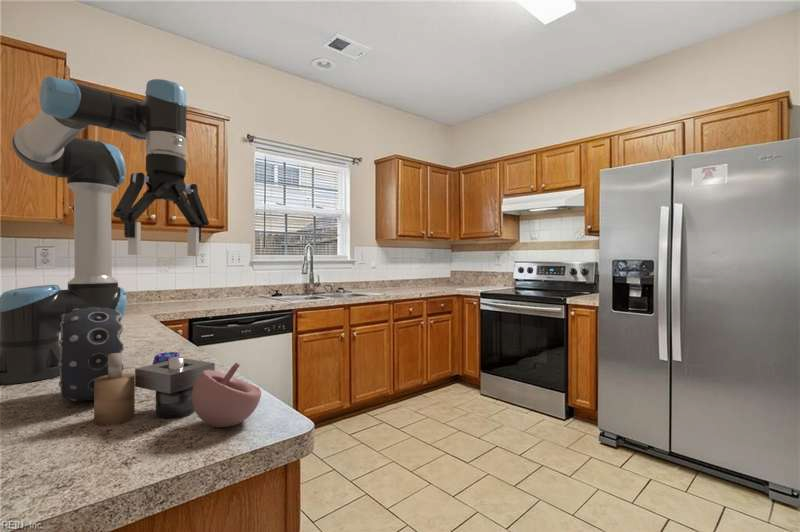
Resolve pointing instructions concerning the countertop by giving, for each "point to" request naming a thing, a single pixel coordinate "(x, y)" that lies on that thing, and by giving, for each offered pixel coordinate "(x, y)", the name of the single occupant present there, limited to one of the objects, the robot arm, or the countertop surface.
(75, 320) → the dark grey piece
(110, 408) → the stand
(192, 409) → the dark bottle with stopper
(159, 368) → the square hole block
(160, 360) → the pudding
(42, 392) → the countertop surface
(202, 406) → the mortar and pestle
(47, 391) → the countertop surface
